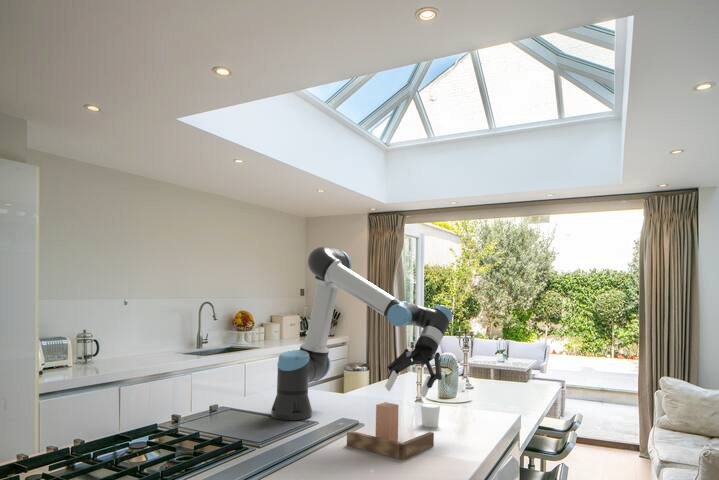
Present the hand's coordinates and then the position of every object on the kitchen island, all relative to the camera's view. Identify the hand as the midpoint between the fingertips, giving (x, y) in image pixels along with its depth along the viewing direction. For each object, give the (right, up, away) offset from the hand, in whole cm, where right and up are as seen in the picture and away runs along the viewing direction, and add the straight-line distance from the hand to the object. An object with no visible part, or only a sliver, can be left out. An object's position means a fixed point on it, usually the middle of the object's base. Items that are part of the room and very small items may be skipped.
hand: (404, 391), depth 168 cm
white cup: (+11, -17, +16) cm, 26 cm away
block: (-6, -14, -9) cm, 17 cm away
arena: (-5, -14, -10) cm, 17 cm away
